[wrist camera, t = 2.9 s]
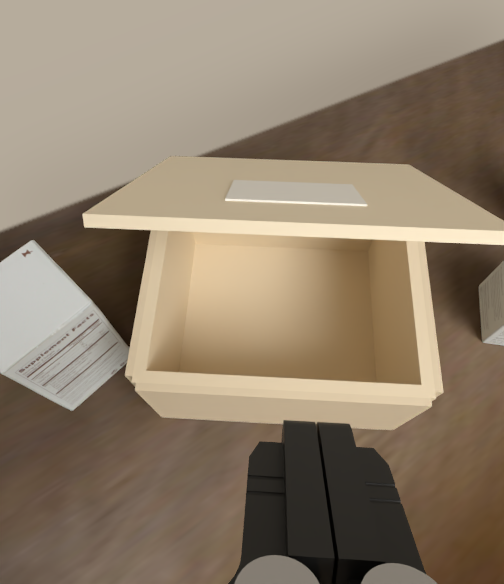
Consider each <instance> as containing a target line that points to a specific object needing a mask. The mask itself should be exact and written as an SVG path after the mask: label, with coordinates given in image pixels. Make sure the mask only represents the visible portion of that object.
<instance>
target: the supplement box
mask: <svg viewBox="0 0 504 584" xmlns="http://www.w3.org/2000/svg"><path fill="white" fill-rule="evenodd" d="M129 349H130V348H129V347H128V345H127V344H126V343H125V342H124V340H123V339H122V338H121V337H120V335H119V334H118V333H117V331H116V330H115V329H114V327H113V326H112V325H111V324H110V322H109V321H108V320H107V318H106V317H105V316H104V314H103V313H102V312H101V311H100V309H99V308H98V307H97V306H96V305H95V304H94V302H93V301H92V300H91V299H90V298H89V297H88V296H87V295H86V294H85V293H84V292H83V291H82V290H81V289H80V288H79V287H78V286H77V284H76V283H75V282H74V281H73V280H72V279H71V278H70V277H69V276H68V275H67V274H66V273H65V272H64V271H63V270H62V269H61V268H60V266H58V265H57V264H56V263H55V262H54V261H53V260H52V259H51V257H50V256H49V255H48V254H47V253H46V252H45V251H44V250H43V249H42V248H41V247H40V246H39V245H38V244H37V243H36V242H35V241H34V240H31V241H30V242H28V243H27V244H25V245H24V246H22V247H21V248H20V249H18V250H17V251H15V252H14V253H13V254H11V255H10V256H8V257H7V258H6V259H4V260H3V261H2V262H0V373H1V374H3V375H5V376H7V377H9V378H10V379H12V380H14V381H16V382H18V383H20V384H22V385H24V386H25V387H27V388H29V389H31V390H33V391H34V392H36V393H38V394H40V395H42V396H44V397H46V398H48V399H49V400H51V401H53V402H55V403H57V404H59V405H61V406H63V407H65V408H67V409H69V410H71V411H73V410H74V409H75V408H76V407H78V406H79V405H80V404H81V403H82V402H83V401H85V400H86V399H87V398H88V397H89V396H90V395H91V394H92V393H94V392H95V391H96V390H97V389H98V388H99V387H100V386H102V385H103V384H104V383H105V382H106V381H107V380H108V379H109V378H111V377H112V376H113V375H114V374H115V373H116V372H117V371H118V370H120V369H121V368H122V367H123V366H124V365H125V364H126V363H127V360H128V354H129Z"/></svg>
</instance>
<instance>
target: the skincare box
mask: <svg viewBox="0 0 504 584" xmlns="http://www.w3.org/2000/svg"><path fill="white" fill-rule="evenodd" d="M479 302H480V319H481V334H482V342H483V343H489V344H496V345H503V346H504V261H503V262H502V263H501V264H500V265H499V266H498V267H497V268H496V269H495V270H494V271H493V272H492V273H491V274H490V275H489V276H488V277H487V278H486V279H485V280H484V281H483V282H482V283H481V284H480V285H479Z"/></svg>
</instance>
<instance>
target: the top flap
mask: <svg viewBox="0 0 504 584" xmlns="http://www.w3.org/2000/svg"><path fill="white" fill-rule="evenodd" d="M83 222H84V227H88V228H112V229H135V230H159V231H183V232H207V233H231V234H255V235H278V236H302V237H326V238H350V239H374V240H398V241H421V242H445V243H469V244H493V245H504V221H503V220H501V219H500V218H498V217H496V216H495V215H493V214H491V213H490V212H488V211H486V210H485V209H483V208H481V207H479V206H478V205H476V204H474V203H473V202H471V201H469V200H468V199H466V198H464V197H463V196H461V195H459V194H458V193H456V192H454V191H452V190H451V189H449V188H447V187H446V186H444V185H442V184H441V183H439V182H437V181H436V180H434V179H432V178H431V177H429V176H427V175H425V174H424V173H422V172H420V171H419V170H417V169H415V168H414V167H412V166H410V165H407V164H379V163H352V162H324V161H297V160H270V159H242V158H215V157H187V156H170V157H168V158H167V159H165V160H164V161H162V162H161V163H159V164H158V165H156V166H155V167H153V168H152V169H150V170H149V171H147V172H146V173H144V174H142V175H141V176H139V177H138V178H136V179H135V180H133V181H132V182H130V183H129V184H127V185H126V186H124V187H123V188H121V189H120V190H118V191H117V192H115V193H114V194H112V195H110V196H109V197H107V198H106V199H104V200H103V201H101V202H100V203H98V204H97V205H95V206H94V207H92V208H91V209H89V210H88V211H86V212H85V213H83Z"/></svg>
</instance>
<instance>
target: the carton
mask: <svg viewBox="0 0 504 584" xmlns="http://www.w3.org/2000/svg"><path fill="white" fill-rule="evenodd" d="M125 377H126V378H127V379H128V380H129V381H130V382H131V383H132V384H133V385H134V386H135V391H136V392H137V393H138V394H139V395H140V396H141V397H142V398H143V399H144V400H145V401H146V402H147V403H148V404H149V405H150V406H151V407H152V408H153V409H154V410H155V411H156V412H157V413H158V414H159V415H160V416H161V417H165V418H180V419H198V420H216V421H234V422H252V423H270V424H283V420H292V421H309V422H315V423H316V424H317V422H329V423H346V424H350V426H351V428H360V429H378V430H394V429H395V428H397V427H399V426H400V425H402V424H404V423H405V422H407V421H409V420H410V419H412V418H414V417H415V416H417V415H419V414H420V413H422V412H424V411H425V410H427V409H429V408H430V407H432V401H433V400H435V399H436V397H437V396H439V395H440V394H442V393H443V385H442V377H441V369H440V361H439V353H438V345H437V338H436V330H435V322H434V314H433V306H432V298H431V290H430V282H429V274H428V266H427V258H426V250H425V242H421V241H398V240H374V239H350V238H326V237H302V236H278V235H255V234H231V233H207V232H183V231H159V230H151V233H150V238H149V244H148V249H147V255H146V260H145V266H144V271H143V277H142V282H141V288H140V293H139V299H138V304H137V310H136V316H135V321H134V327H133V332H132V338H131V343H130V349H129V354H128V360H127V365H126V371H125Z"/></svg>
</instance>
